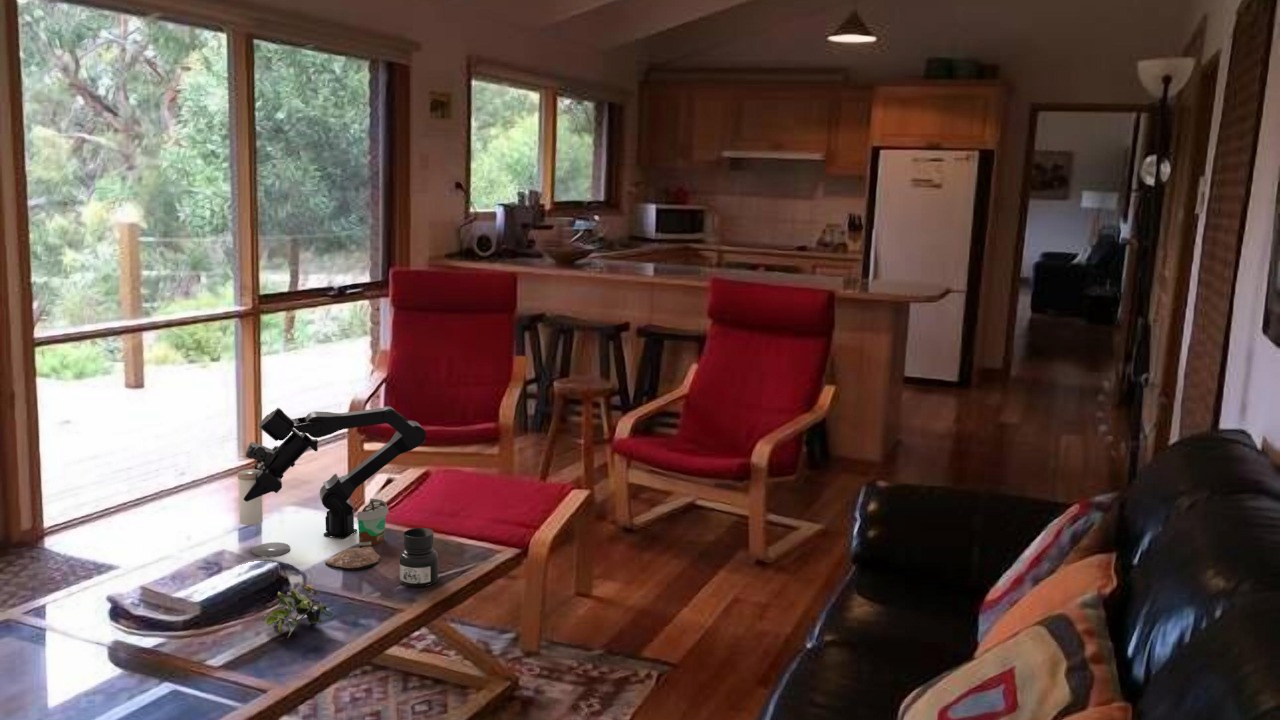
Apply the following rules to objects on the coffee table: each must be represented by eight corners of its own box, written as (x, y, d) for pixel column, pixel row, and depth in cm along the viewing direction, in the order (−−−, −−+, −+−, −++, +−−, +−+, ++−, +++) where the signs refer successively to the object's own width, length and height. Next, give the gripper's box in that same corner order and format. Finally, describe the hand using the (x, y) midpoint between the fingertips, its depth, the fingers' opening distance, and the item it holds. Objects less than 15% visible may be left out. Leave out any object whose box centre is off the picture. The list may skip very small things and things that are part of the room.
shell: (391, 561, 257) (391, 548, 256) (349, 576, 247) (349, 562, 246) (361, 550, 264) (361, 537, 263) (320, 564, 254) (319, 550, 253)
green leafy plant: (311, 647, 221) (344, 605, 220) (284, 661, 210) (319, 616, 209) (274, 612, 223) (307, 570, 221) (245, 624, 212) (279, 579, 211)
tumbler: (267, 519, 267) (266, 470, 265) (253, 526, 262) (251, 476, 259) (249, 516, 269) (247, 468, 266) (234, 523, 263) (232, 474, 261)
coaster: (297, 547, 264) (297, 545, 264) (275, 558, 255) (275, 557, 255) (267, 542, 267) (267, 540, 266) (244, 554, 258) (244, 552, 258)
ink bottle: (390, 584, 242) (390, 535, 240) (412, 571, 250) (411, 523, 248) (426, 591, 239) (425, 541, 237) (446, 578, 247) (446, 530, 245)
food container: (381, 551, 263) (381, 513, 261) (357, 550, 263) (357, 512, 261) (394, 534, 275) (393, 498, 273) (371, 533, 275) (370, 497, 274)
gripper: (263, 423, 271) (219, 467, 269) (266, 440, 254) (219, 487, 252) (295, 450, 275) (252, 493, 273) (300, 469, 258) (255, 515, 256)
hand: (244, 497), depth 263 cm, fingers closed on tumbler, 5 cm apart
